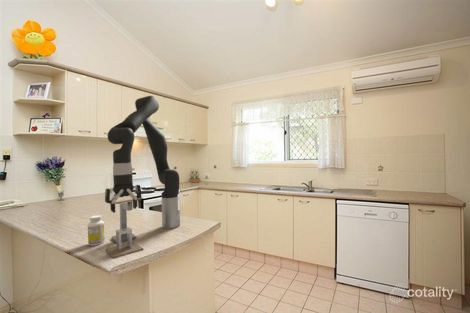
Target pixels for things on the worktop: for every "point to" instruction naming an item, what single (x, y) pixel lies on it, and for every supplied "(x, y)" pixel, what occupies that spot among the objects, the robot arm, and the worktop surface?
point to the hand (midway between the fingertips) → (124, 210)
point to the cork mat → (123, 250)
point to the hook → (118, 237)
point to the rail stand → (124, 220)
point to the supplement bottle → (95, 231)
